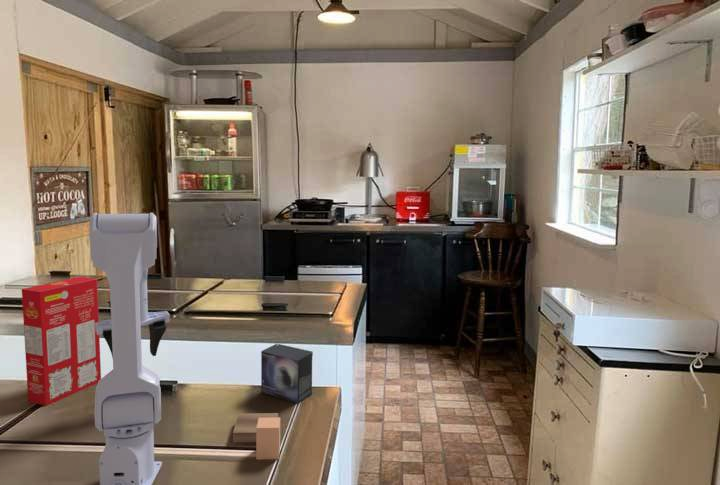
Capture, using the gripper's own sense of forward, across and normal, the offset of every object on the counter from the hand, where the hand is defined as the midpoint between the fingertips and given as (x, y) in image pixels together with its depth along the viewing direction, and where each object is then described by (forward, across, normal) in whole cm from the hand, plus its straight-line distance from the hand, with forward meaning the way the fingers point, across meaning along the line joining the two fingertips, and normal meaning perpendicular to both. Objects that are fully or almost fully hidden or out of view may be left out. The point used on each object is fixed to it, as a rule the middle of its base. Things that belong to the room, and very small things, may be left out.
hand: (134, 358), depth 115 cm
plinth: (+8, -16, +27) cm, 32 cm away
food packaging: (+12, +12, -14) cm, 22 cm away
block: (+7, -14, +36) cm, 39 cm away
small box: (+10, -29, +15) cm, 34 cm away
